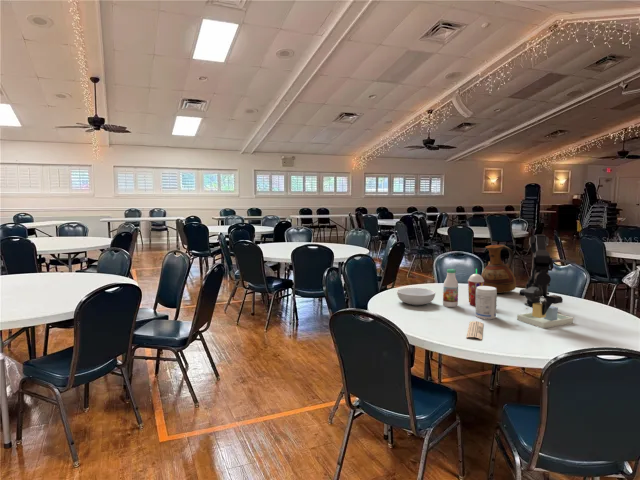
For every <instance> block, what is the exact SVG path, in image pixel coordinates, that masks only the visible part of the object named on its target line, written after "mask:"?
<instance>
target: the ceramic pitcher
mask: <svg viewBox="0 0 640 480" xmlns="http://www.w3.org/2000/svg"><path fill="white" fill-rule="evenodd" d="M485 249H487V250H488V252H489V253H488V254H489V255H488V256H489V259H490V261H489V263H488V264H487V265H486V266H485V268H484V269H483V271H482V272H481V274H480V275H481V276H482V277H483V280H484V286H490V287H495V288H496V289H497V293H498V294H499V293H501V294H502V293H509V292H512V291H514V290H515V289H516V287H517V282H516V276H515V275H514V273H513V271H512V269H511V266H512V263H513V261H514V252H513V250H512V249H511V248H510V247H508V246H506V245H505V244H492V245H490V244H489V245H487V246H485ZM505 249H506V250H507V251H508V253H509V254H508V256H509V258H508V260H507V263H504V262H503V261H502V258H501V257H502V256H501V252H502V250H505Z"/></svg>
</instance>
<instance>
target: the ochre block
mask: <svg viewBox="0 0 640 480" xmlns="http://www.w3.org/2000/svg"><path fill="white" fill-rule="evenodd" d="M531 313H532V316H534V317H538V318H543V317H546V313H545V315H542V303H541V302H540V303H533V308H532V312H531Z"/></svg>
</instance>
